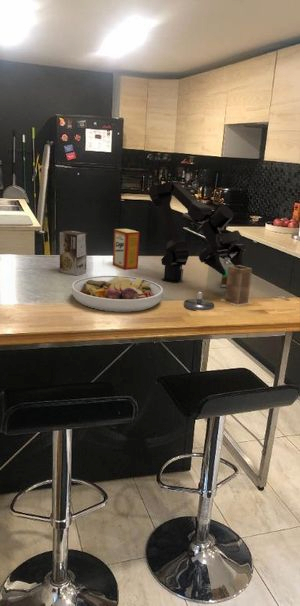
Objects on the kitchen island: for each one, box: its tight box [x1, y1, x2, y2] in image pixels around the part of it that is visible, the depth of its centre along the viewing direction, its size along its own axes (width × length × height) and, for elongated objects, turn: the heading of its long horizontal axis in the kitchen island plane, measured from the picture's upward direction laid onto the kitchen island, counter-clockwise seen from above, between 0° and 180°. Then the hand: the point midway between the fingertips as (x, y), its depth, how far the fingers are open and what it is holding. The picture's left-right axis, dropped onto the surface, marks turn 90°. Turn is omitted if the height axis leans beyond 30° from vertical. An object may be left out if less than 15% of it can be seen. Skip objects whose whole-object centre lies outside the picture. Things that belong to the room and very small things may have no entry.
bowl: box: [71, 275, 164, 313], centre depth 163 cm, size 30×30×8 cm
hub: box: [183, 291, 215, 312], centre depth 162 cm, size 10×10×5 cm
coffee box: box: [59, 230, 88, 276], centre depth 195 cm, size 9×6×16 cm
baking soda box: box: [112, 228, 141, 271], centre depth 210 cm, size 10×6×16 cm
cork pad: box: [220, 298, 253, 307], centre depth 170 cm, size 8×8×1 cm
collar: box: [224, 265, 253, 305], centre depth 169 cm, size 6×6×12 cm
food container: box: [220, 257, 234, 289], centre depth 190 cm, size 12×6×10 cm, turn 168°
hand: (233, 273), depth 170 cm, fingers open, 9 cm apart
